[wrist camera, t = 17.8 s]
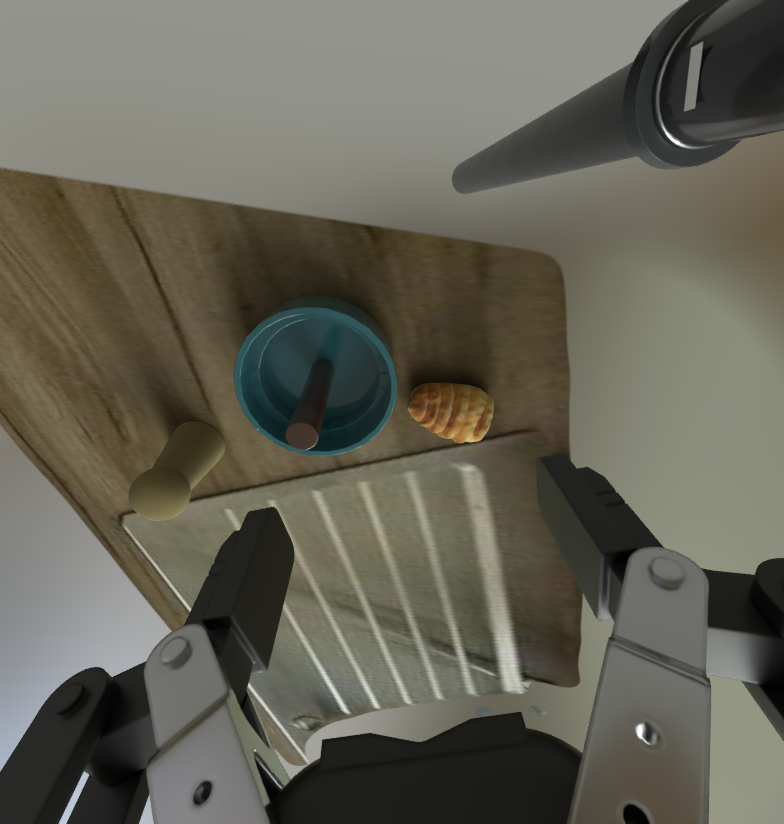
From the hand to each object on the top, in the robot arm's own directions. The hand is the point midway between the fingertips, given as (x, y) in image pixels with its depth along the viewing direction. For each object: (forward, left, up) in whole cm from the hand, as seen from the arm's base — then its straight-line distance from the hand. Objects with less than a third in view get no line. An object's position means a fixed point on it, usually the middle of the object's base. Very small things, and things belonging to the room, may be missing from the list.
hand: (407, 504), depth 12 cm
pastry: (-5, +13, -31) cm, 34 cm away
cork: (+25, +11, -31) cm, 41 cm away
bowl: (+8, +5, -31) cm, 32 cm away
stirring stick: (+8, +5, -30) cm, 31 cm away
